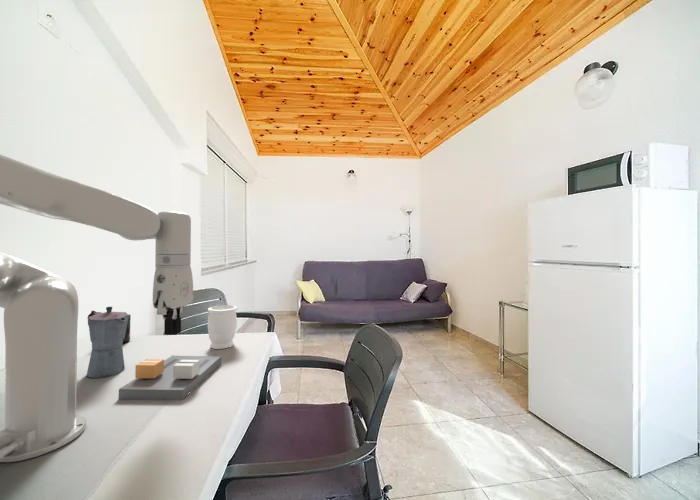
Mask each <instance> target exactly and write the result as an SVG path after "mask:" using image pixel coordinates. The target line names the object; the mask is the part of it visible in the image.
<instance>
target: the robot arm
mask: <svg viewBox="0 0 700 500" xmlns="http://www.w3.org/2000/svg"><path fill="white" fill-rule="evenodd" d="M0 205H3V206H7V207H10V208H14V209H17V210H21V211H24V212H27V213H31V214H34V215H36V216H41V217H44V218H48V219H53V220H61V221H70V222H74V223H79V224H81V225H86V226H90V227H93V228H97V229H99V230H104V231H106V232H110V233H112V234H116V235H119V236H120V237H122V238H123V239H125V240H128V241H134V242H135V241H145V240H146V241H147V240H155V246H154V249H155V251H154V252H155V253H154V254H155V255H154V257H155V258H154V260H155V265H154V267H155V269H154V270H155V271H154V277H153V283H152V306H153V307H154V309H156V315H157V316H161V315H162V319H163V320H164V324H163V325H164V328H163V329H164V331H163V333H164V335H166V336H168V335H169V336H176V335H178V334H181V332H182V316H183V311H184V310H183V309H185V308H186V306H188V304H189V305H190V303H192V302H193V301H194V280H193V271H192V267H191V265H192V264H191V263H192V262H191V261H192V260H191V257H192V255H191V254H192V253H191V252H192V249H191V248H192V237H191V236H192V220H191V219H192V218H191V216H190V215H189V214H188V213H185V212H181V211H169V210H168V211H167V210H166V211H159V212H156V211H154V210H153V209H151V208H150V207H148V206H146V205H143V204H141V203H138V202H136V201H133V200H130V199H128V198H125V197H122V196H119V195H117V194H115V193H111V192H109V191H105V190H103V189H100V188H97V187H93V186H90V185H87V184H84V183H80V182H79V181H76V180H72V179H69V178H65V177H63V176H60V175H57V174H54V173H53V172H49V171H46V170H43V169H40V168H39V167H35V166H32V165H30V164H27V163H24V162H21V161H20V160H16V159H13V158H10V157H8V156H5V155H3V154H0ZM0 308H2V309H3V328H4V330H3V331H4V343H5V361H4V362H5V364H4V365H5V368H4V369H5V380H4V381H5V385H4V388H5V391H4V394H5V395H4V398H5V399H4V429H2V430H0V463H13V462H14V463H15V462H20V461H25V460H30V459H33V458H35V457H39V456H42V455H45V454H47V453H50V452H53V451H55V450H56V449H59V448H61V447H63V446H65V445H66V444H69V443H70V442H72V441H73V440H74V439H76V438H77V437H79V436H80V435H81V434H82V433H83V431H84V430H86V427H87V419H86V418H85V417H84V416H81V415H78V414H77V374H78V373H77V372H78V371H77V370H78V321H79V319H78V317H79V296H78V291H77V289H76V286H74V285H73V283H72V282H70V281H69V280H68V279H65V278H64V277H62V276H59V275H56V274H54V273H52V272H50V271H47V270H45V269H43V268H41V267H38V266H37V265H34V264H32V263H29V262H27V261H25V260H22V259H21V258H17V257H15V256H13V255H10V254H7V253H5V252H3V251H0Z"/></svg>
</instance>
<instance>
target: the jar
mask: <svg viewBox="0 0 700 500" xmlns="http://www.w3.org/2000/svg"><path fill="white" fill-rule="evenodd" d="M237 310H238V307H237V305H233V304H230V305H229V304H223V305H222V304H221V305H215V306H210V307H208V308H207V311H208V316H207V317H208V318H207V331H208V339H209V340H210V342H211V343H210V345H209V347H210V348H211V349H214V350H223V349H228V347H229V348H231V347H233V346H234V341H233V340H234V338H235V335H236V332H237V331H236V330H237V324H238V318H237V317H238V316H237V313H236V311H237ZM232 345H233V346H232Z"/></svg>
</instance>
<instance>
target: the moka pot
mask: <svg viewBox="0 0 700 500" xmlns="http://www.w3.org/2000/svg"><path fill="white" fill-rule="evenodd" d="M105 310H106V311H105V312H101V311H95V310H91V312H90V313H89V314H88V315H87V318H86V319H87V326H88V330H89V340H90V342H91V353H90V358H89V363H88V367H87V371H86V377H88V378H92V379H100V378H108V377H112V376H115V375H117V374H119V373H121V372H122V371H124V370H125V367H126V365H125V360H124V350H123V345H124V344H123V339H124V338H125V333H126V327H127V323H128V318H129V315H130V314H129V315H128V313H127V312H126V311H113V306H107V307H105Z"/></svg>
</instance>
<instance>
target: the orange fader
mask: <svg viewBox="0 0 700 500" xmlns="http://www.w3.org/2000/svg"><path fill="white" fill-rule="evenodd" d="M164 361H165V360H164V358H163V359H160V358H159V359H158V358H157V359H152V358H150V359H148V358H147V359H144V360H142V361H140V362H139V363H137V364H135V378H134V379H136V378H155V377H157V376H158V375H160V374H161V373H163V372H164Z"/></svg>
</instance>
